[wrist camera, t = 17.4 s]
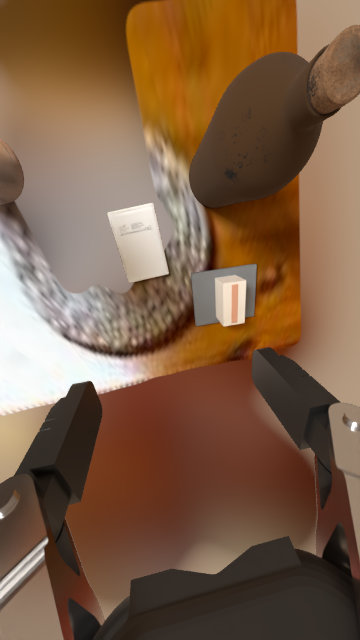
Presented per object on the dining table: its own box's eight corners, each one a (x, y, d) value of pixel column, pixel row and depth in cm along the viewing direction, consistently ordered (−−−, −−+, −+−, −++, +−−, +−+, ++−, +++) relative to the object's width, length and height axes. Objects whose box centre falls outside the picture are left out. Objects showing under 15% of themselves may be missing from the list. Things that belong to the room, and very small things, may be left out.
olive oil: (231, 219, 37) (361, 198, 14) (178, 201, 34) (235, 142, 12) (253, 151, 33) (480, -22, 10) (195, 125, 30) (329, -177, 8)
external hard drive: (129, 281, 39) (107, 213, 34) (168, 272, 40) (153, 203, 34) (128, 283, 38) (106, 212, 33) (169, 274, 38) (153, 202, 33)
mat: (195, 324, 45) (196, 326, 44) (190, 273, 40) (191, 274, 39) (252, 314, 46) (254, 316, 46) (254, 263, 41) (256, 264, 40)
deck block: (214, 277, 40) (223, 283, 36) (235, 274, 41) (246, 280, 36) (216, 316, 44) (223, 326, 39) (234, 313, 44) (244, 323, 40)
